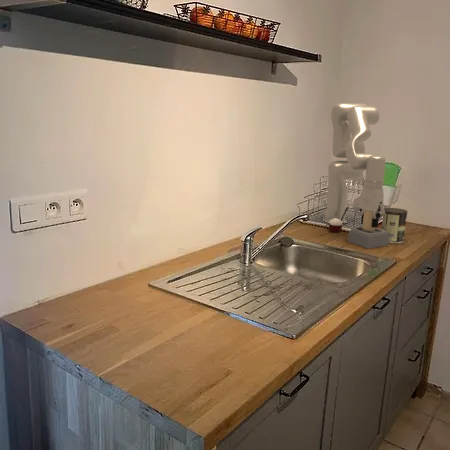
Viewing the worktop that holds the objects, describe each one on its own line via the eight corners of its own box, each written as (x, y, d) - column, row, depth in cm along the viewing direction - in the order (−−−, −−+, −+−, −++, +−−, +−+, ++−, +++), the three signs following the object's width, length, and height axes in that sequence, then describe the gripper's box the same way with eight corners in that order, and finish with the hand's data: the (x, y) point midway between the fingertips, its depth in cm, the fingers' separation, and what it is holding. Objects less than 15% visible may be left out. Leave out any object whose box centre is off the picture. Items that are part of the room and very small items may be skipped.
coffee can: (399, 237, 230) (403, 208, 227) (407, 244, 220) (411, 213, 217) (377, 237, 231) (380, 207, 227) (383, 243, 221) (387, 212, 217)
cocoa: (324, 232, 238) (325, 207, 235) (328, 229, 244) (329, 205, 241) (344, 234, 234) (345, 209, 231) (348, 231, 239) (348, 206, 236)
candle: (367, 227, 222) (369, 205, 220) (377, 230, 218) (380, 207, 215) (359, 229, 219) (361, 206, 216) (369, 231, 215) (372, 209, 212)
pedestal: (347, 241, 222) (349, 228, 220) (367, 238, 228) (369, 225, 226) (367, 248, 212) (369, 234, 210) (387, 245, 217) (389, 231, 216)
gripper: (352, 181, 219) (349, 221, 223) (382, 188, 204) (377, 231, 209) (365, 181, 222) (361, 220, 227) (395, 187, 208) (390, 229, 212)
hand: (369, 225), depth 218 cm, fingers closed on candle, 5 cm apart
